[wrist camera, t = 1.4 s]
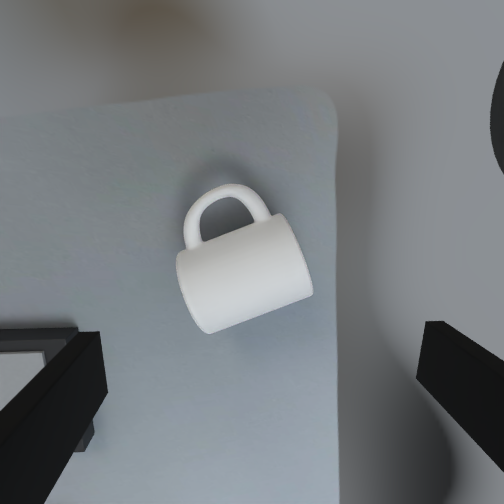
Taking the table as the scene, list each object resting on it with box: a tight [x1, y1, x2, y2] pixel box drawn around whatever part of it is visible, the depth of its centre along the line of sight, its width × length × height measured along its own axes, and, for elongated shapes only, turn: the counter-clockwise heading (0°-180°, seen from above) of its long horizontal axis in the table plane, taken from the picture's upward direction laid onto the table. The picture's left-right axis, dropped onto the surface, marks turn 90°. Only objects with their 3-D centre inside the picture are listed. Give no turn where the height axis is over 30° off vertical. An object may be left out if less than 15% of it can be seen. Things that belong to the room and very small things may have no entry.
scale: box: [0, 327, 94, 452], centre depth 30 cm, size 14×14×3 cm
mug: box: [176, 184, 313, 334], centre depth 26 cm, size 12×10×8 cm
